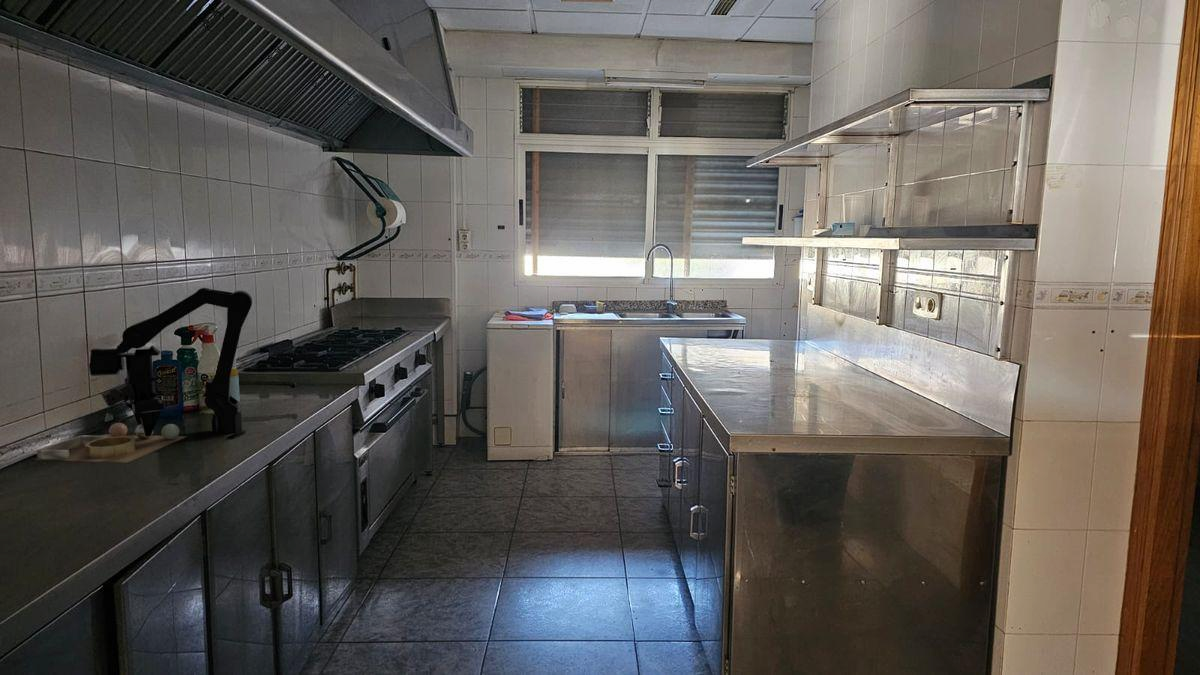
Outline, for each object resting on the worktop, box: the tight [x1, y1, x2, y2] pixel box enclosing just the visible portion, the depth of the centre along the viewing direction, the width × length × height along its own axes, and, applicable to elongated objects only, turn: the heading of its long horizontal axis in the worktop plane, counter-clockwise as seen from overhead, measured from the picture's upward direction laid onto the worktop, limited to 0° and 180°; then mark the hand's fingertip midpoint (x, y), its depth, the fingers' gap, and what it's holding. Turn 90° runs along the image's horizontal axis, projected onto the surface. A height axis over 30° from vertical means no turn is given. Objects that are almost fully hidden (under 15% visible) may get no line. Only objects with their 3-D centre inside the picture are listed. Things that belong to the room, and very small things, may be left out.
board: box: [34, 433, 188, 463], centre depth 181 cm, size 23×22×3 cm
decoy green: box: [160, 423, 180, 440], centre depth 188 cm, size 4×4×4 cm
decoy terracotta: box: [108, 422, 128, 437], centre depth 189 cm, size 4×4×4 cm
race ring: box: [85, 436, 136, 458], centre depth 177 cm, size 10×10×2 cm
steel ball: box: [134, 424, 154, 439], centre depth 189 cm, size 4×4×4 cm
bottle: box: [230, 358, 241, 404], centre depth 231 cm, size 7×7×15 cm
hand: (144, 432), depth 189 cm, fingers open, 9 cm apart
